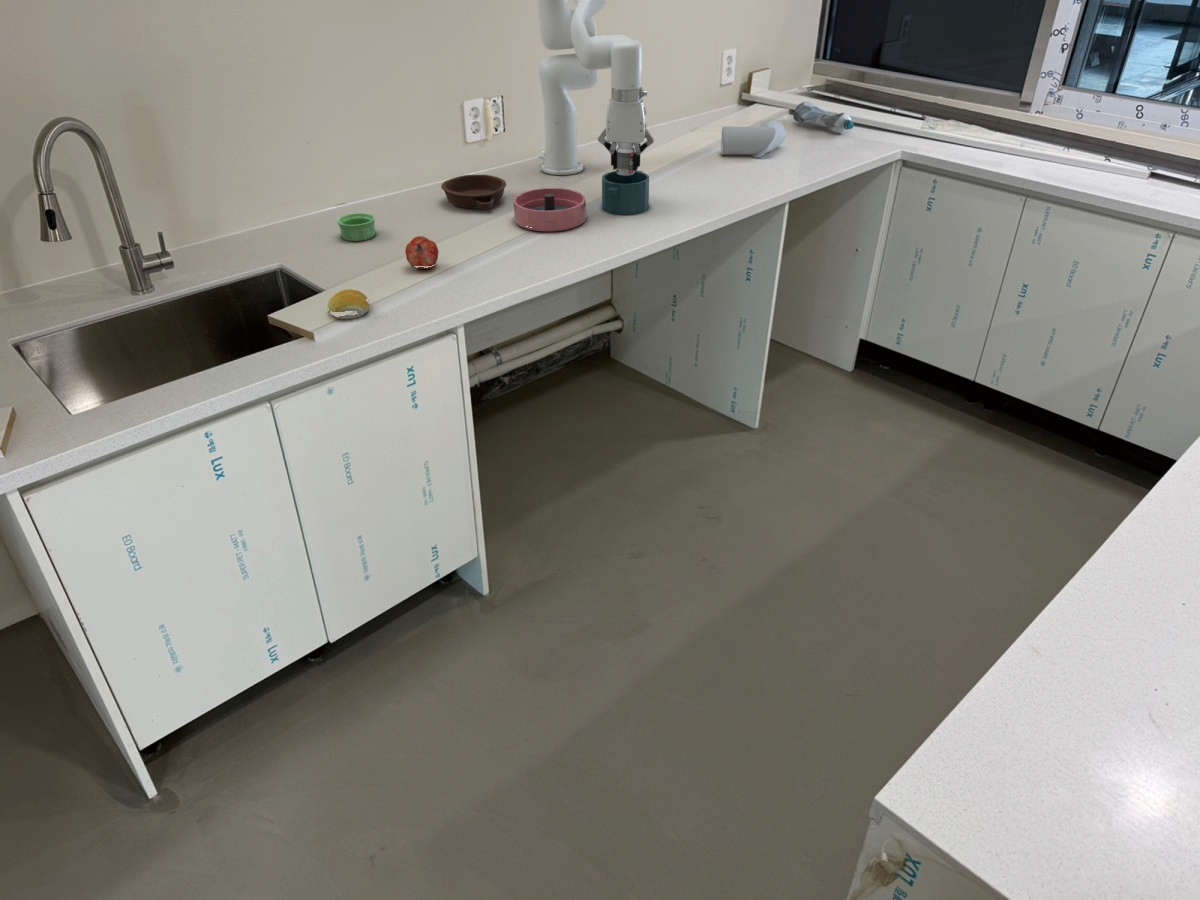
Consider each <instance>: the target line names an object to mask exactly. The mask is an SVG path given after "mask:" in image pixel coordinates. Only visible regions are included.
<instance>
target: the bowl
mask: <svg viewBox="0 0 1200 900" xmlns="http://www.w3.org/2000/svg"><path fill="white" fill-rule="evenodd" d="M545 194H554V197H555V206H562V207H567V208H568V209H563V210H554V211H541V210H532V209H533V208H536V207H542V206H545V202H544V195H545ZM513 217H514V222H515V224H516V225H517V226H519V227H521V228H524V229H527V230H530V231H535V232H542V233H543V232H548V233H549V232H551V233H553V232H563V231H567V230H571V229H574V228H577V227H578V226H580V225H582V224H583V223H585V221H586V219H587V199H586V196H585V195H584V194H583V193H582V192H579V191H578V190H573V189H571V188H562V187H542V188H534V189H530V190H526V191H523V192H520V193H518V194H517V195H515V196H514V198H513ZM526 226H528V227H526ZM530 227H532V228H530Z"/></svg>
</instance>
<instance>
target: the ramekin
mask: <svg viewBox="0 0 1200 900" xmlns="http://www.w3.org/2000/svg"><path fill="white" fill-rule="evenodd" d="M375 220H376V217H375V216H374V215H373V214H372V213H369V212H368V213H367V212H353V213H347V214H343V215H342V216H340V217H338V219H337V225H338V227H339V230H340V234H341V237H342V238H343V239H344V240H346V241H348V242H362V241H367V240H370V239H372V238H373V237H374V236H375V235H376V225H375Z"/></svg>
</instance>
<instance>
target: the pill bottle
mask: <svg viewBox="0 0 1200 900" xmlns="http://www.w3.org/2000/svg"><path fill="white" fill-rule="evenodd" d="M616 151H617V168H616V169H615V171H617V174H618V175H623V176H629V175H633V174H634V154H635V147H634V143H625V142H621V143H617V147H616Z"/></svg>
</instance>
